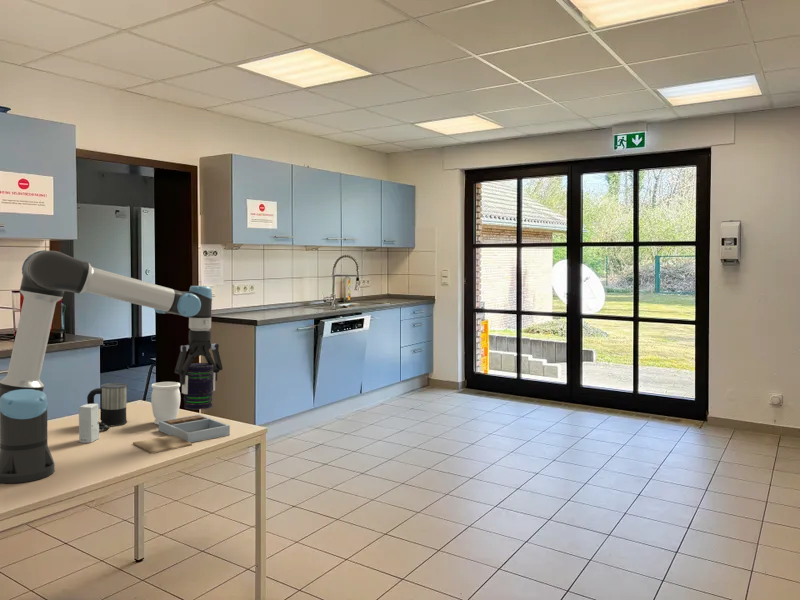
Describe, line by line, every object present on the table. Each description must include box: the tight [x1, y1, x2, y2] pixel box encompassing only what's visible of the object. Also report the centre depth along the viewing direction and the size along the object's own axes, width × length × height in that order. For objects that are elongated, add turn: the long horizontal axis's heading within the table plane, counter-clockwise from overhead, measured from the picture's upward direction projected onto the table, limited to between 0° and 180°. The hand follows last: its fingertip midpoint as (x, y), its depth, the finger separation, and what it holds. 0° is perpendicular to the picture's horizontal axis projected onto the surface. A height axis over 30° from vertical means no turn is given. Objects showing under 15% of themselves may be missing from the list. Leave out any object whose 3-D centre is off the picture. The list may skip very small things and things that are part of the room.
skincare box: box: [78, 403, 100, 444], centre depth 212 cm, size 6×4×12 cm
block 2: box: [178, 416, 193, 423], centre depth 229 cm, size 4×4×4 cm
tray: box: [158, 414, 231, 443], centre depth 225 cm, size 16×22×3 cm
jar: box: [150, 381, 181, 426], centre depth 237 cm, size 11×10×15 cm
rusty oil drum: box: [183, 362, 214, 411], centre depth 221 cm, size 10×10×15 cm
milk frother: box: [86, 382, 129, 431], centre depth 230 cm, size 14×16×15 cm
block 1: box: [166, 419, 181, 425], centre depth 226 cm, size 4×4×4 cm
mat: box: [132, 435, 193, 454], centre depth 209 cm, size 14×14×1 cm
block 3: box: [188, 414, 204, 421], centre depth 232 cm, size 4×4×4 cm
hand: (198, 391), depth 221 cm, fingers closed on rusty oil drum, 10 cm apart
